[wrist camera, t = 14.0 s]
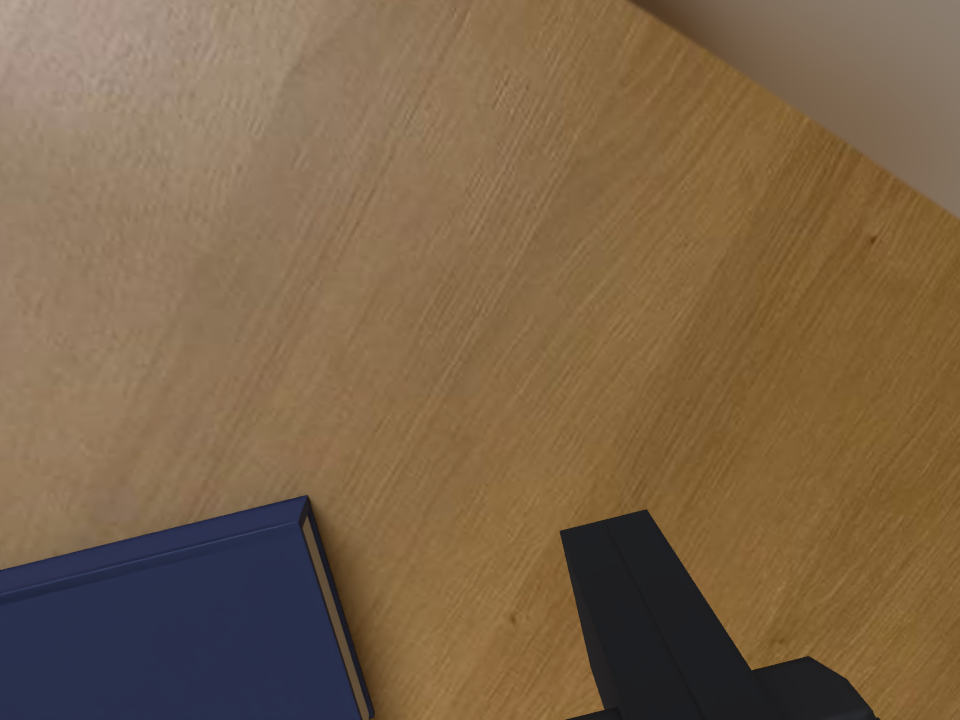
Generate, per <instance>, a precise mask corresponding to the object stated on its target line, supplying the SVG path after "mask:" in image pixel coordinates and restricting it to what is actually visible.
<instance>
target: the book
mask: <svg viewBox="0 0 960 720" xmlns="http://www.w3.org/2000/svg"><path fill="white" fill-rule="evenodd" d="M374 715H375V712H374V709H373V706H372V702H371V699H370V696H369V693H368V690H367V686H366V683H365V680H364V677H363V673H362V670H361V667H360V664H359V660H358V657H357V654H356V651H355V647H354V644H353V641H352V638H351V634H350V631H349V628H348V625H347V621H346V618H345V615H344V612H343V608H342V605H341V602H340V599H339V595H338V592H337V589H336V586H335V582H334V579H333V576H332V573H331V569H330V566H329V563H328V560H327V557H326V553H325V550H324V547H323V544H322V540H321V537H320V534H319V531H318V527H317V524H316V521H315V518H314V514H313V511H312V508H311V505H310V501H309V498H308V495H305V496H301V497H297V498H293V499H289V500H285V501H281V502H277V503H273V504H269V505H265V506H260V507H256V508H252V509H248V510H244V511H240V512H236V513H232V514H228V515H224V516H220V517H216V518H212V519H207V520H203V521H199V522H195V523H191V524H187V525H183V526H179V527H175V528H171V529H167V530H163V531H158V532H154V533H150V534H146V535H142V536H138V537H134V538H130V539H126V540H122V541H118V542H114V543H110V544H105V545H101V546H97V547H93V548H89V549H85V550H81V551H77V552H73V553H69V554H65V555H61V556H57V557H52V558H48V559H44V560H40V561H36V562H32V563H28V564H24V565H20V566H16V567H12V568H8V569H4V570H0V720H369V719H372V718H374Z"/></svg>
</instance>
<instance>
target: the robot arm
mask: <svg viewBox="0 0 960 720" xmlns="http://www.w3.org/2000/svg"><path fill="white" fill-rule="evenodd" d="M560 535H561V539H562V544H563V548H564V552H565V557H566V561H567V565H568V570H569V574H570V579H571V583H572V587H573V592H574V596H575V601H576V605H577V609H578V614H579V618H580V622H581V627H582V631H583V636H584V640H585V644H586V649H587V653H588V657H589V662H590V666H591V670H592V673H593V676H594V679H595V682H596V685H597V688H598V691H599V694H600V697H601V700H602V703H603V706H604V709H605V710H602V711H598V712H594V713H590V714H586V715H582V716H578V717H574V718H570V719H566V720H880V719H879V718H876V717H875V715H874V713H873V710H872V709H871V708H870V707H869V706H868V704H867V703H866V702H865V701H864V699H863V698H862V697H861V696H860V695H859V693H858V692H857V691H856V690H855V689H854V687H853V686H852V685H851V684H850V683H849V681H848V680H847V679H846V678H844V677H842V676H841V675H839V674H838V673H836V672H834V671H833V670H831V669H829V668H828V667H826V666H824V665H823V664H821V663H819V662H818V661H816V660H814V659H813V658H811V657H809V656H807V657H803V658H799V659H795V660H791V661H787V662H783V663H779V664H775V665H771V666H767V667H763V668H759V669H755V670H751V669H750V667H749V666H748V664H747V663H746V661H745V660H744V658H743V657H742V655H741V653H740V652H739V650H738V649H737V647H736V646H735V644H734V643H733V641H732V640H731V638H730V637H729V635H728V633H727V632H726V630H725V629H724V627H723V626H722V624H721V623H720V621H719V620H718V618H717V617H716V615H715V613H714V612H713V610H712V609H711V607H710V606H709V604H708V603H707V601H706V600H705V598H704V597H703V595H702V593H701V592H700V590H699V589H698V587H697V586H696V584H695V583H694V581H693V580H692V578H691V577H690V575H689V573H688V572H687V570H686V569H685V567H684V566H683V564H682V563H681V561H680V560H679V558H678V557H677V555H676V553H675V552H674V550H673V549H672V547H671V546H670V544H669V543H668V541H667V540H666V538H665V537H664V535H663V534H662V532H661V530H660V529H659V527H658V526H657V524H656V523H655V521H654V520H653V518H652V517H651V515H650V514H649V512H648V510H647V509H646V510H642V511H638V512H634V513H630V514H626V515H622V516H618V517H614V518H610V519H606V520H602V521H598V522H594V523H590V524H586V525H582V526H578V527H573V528H569V529H565V530H561V531H560Z"/></svg>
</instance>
